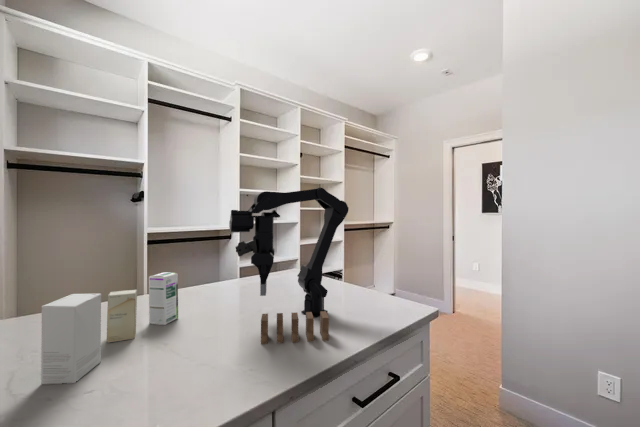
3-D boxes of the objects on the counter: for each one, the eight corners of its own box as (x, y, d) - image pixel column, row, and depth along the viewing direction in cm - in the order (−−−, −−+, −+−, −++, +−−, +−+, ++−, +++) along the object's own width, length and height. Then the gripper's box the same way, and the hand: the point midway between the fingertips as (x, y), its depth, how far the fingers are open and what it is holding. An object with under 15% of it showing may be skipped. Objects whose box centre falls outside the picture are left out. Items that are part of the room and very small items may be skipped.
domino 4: (311, 333, 81) (311, 311, 81) (313, 341, 76) (313, 318, 76) (305, 333, 80) (305, 312, 80) (307, 341, 76) (307, 318, 75)
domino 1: (267, 335, 79) (268, 313, 79) (267, 343, 74) (267, 320, 74) (262, 335, 79) (262, 313, 79) (260, 344, 74) (260, 320, 74)
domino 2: (282, 334, 80) (282, 313, 80) (282, 342, 75) (282, 319, 75) (276, 335, 79) (276, 313, 79) (276, 343, 74) (276, 320, 74)
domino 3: (297, 334, 80) (297, 312, 80) (298, 342, 75) (298, 319, 75) (291, 334, 80) (291, 312, 80) (292, 342, 75) (292, 319, 75)
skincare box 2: (106, 343, 73) (106, 295, 73) (109, 336, 77) (109, 291, 77) (135, 338, 76) (135, 292, 76) (137, 332, 80) (137, 288, 80)
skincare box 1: (72, 363, 64) (72, 293, 64) (103, 362, 64) (104, 292, 64) (38, 386, 56) (38, 305, 55) (75, 384, 56) (75, 304, 56)
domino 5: (325, 332, 81) (325, 311, 81) (328, 340, 76) (328, 317, 76) (320, 332, 81) (320, 311, 81) (322, 340, 76) (322, 318, 76)
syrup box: (165, 325, 85) (165, 276, 85) (148, 323, 86) (148, 275, 86) (178, 318, 91) (178, 272, 91) (162, 317, 92) (162, 271, 92)
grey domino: (266, 291, 93) (266, 263, 93) (265, 295, 88) (265, 266, 88) (261, 291, 92) (261, 263, 92) (260, 295, 88) (260, 266, 87)
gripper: (241, 230, 98) (241, 276, 98) (232, 234, 80) (232, 290, 80) (274, 230, 100) (274, 275, 100) (273, 234, 81) (273, 289, 81)
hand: (263, 282), depth 90 cm, fingers closed on grey domino, 5 cm apart
